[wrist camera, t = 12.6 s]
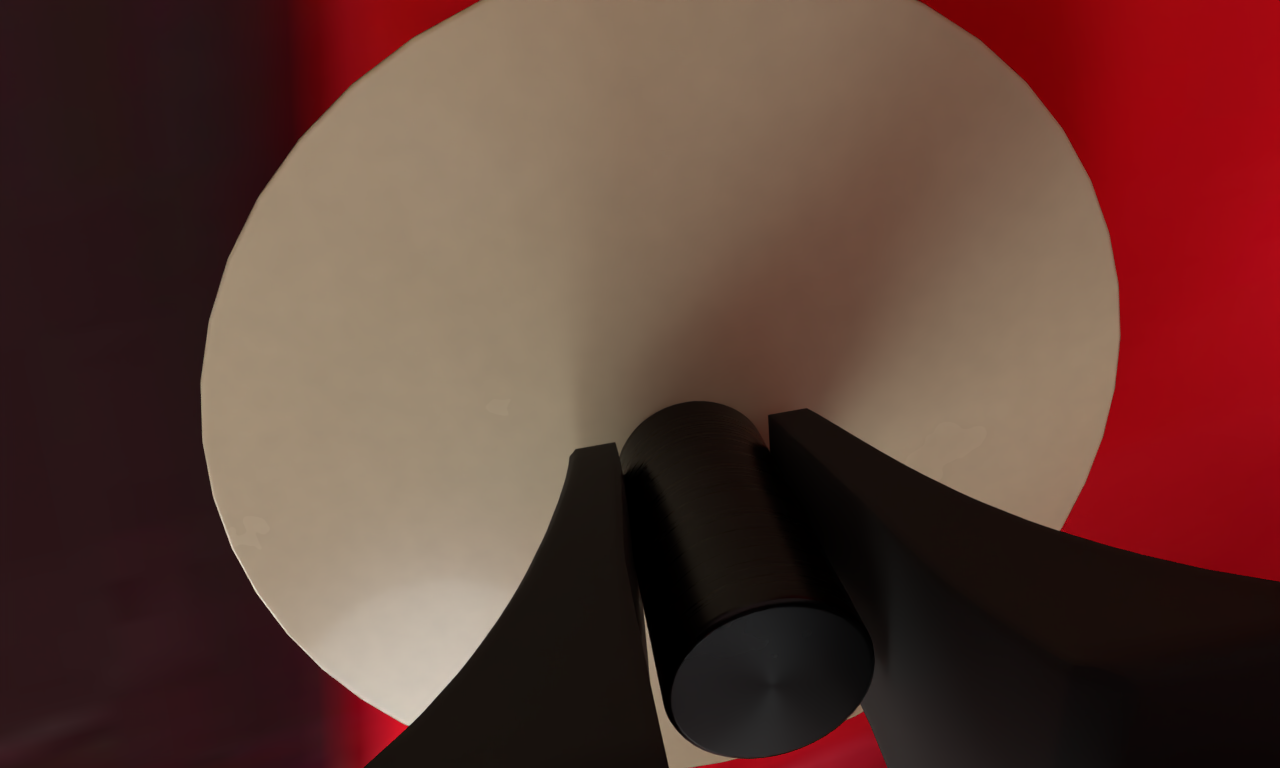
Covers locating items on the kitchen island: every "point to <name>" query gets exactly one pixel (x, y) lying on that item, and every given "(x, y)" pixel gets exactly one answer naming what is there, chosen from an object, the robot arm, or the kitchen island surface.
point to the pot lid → (648, 332)
